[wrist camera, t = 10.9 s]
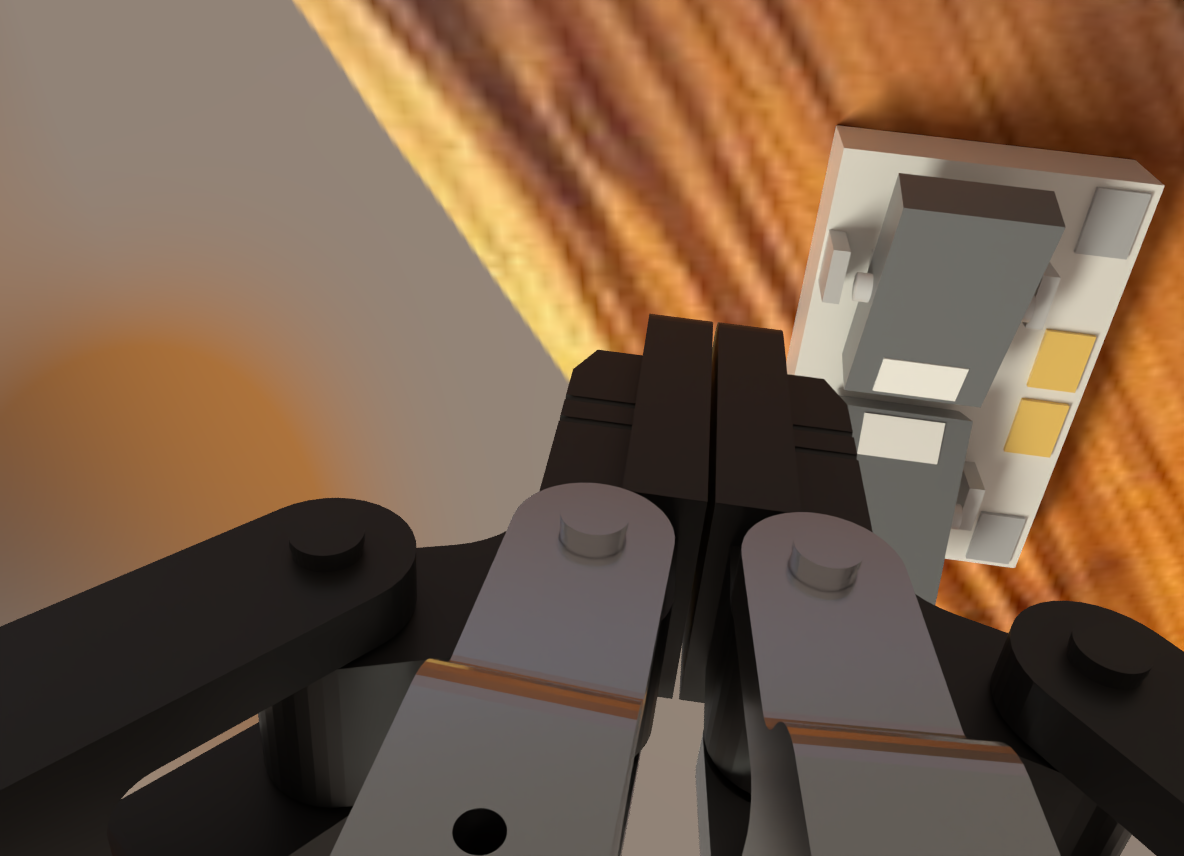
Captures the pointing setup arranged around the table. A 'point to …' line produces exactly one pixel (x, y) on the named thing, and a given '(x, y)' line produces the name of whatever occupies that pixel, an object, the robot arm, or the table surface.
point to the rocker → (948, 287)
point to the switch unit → (1040, 347)
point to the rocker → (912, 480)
